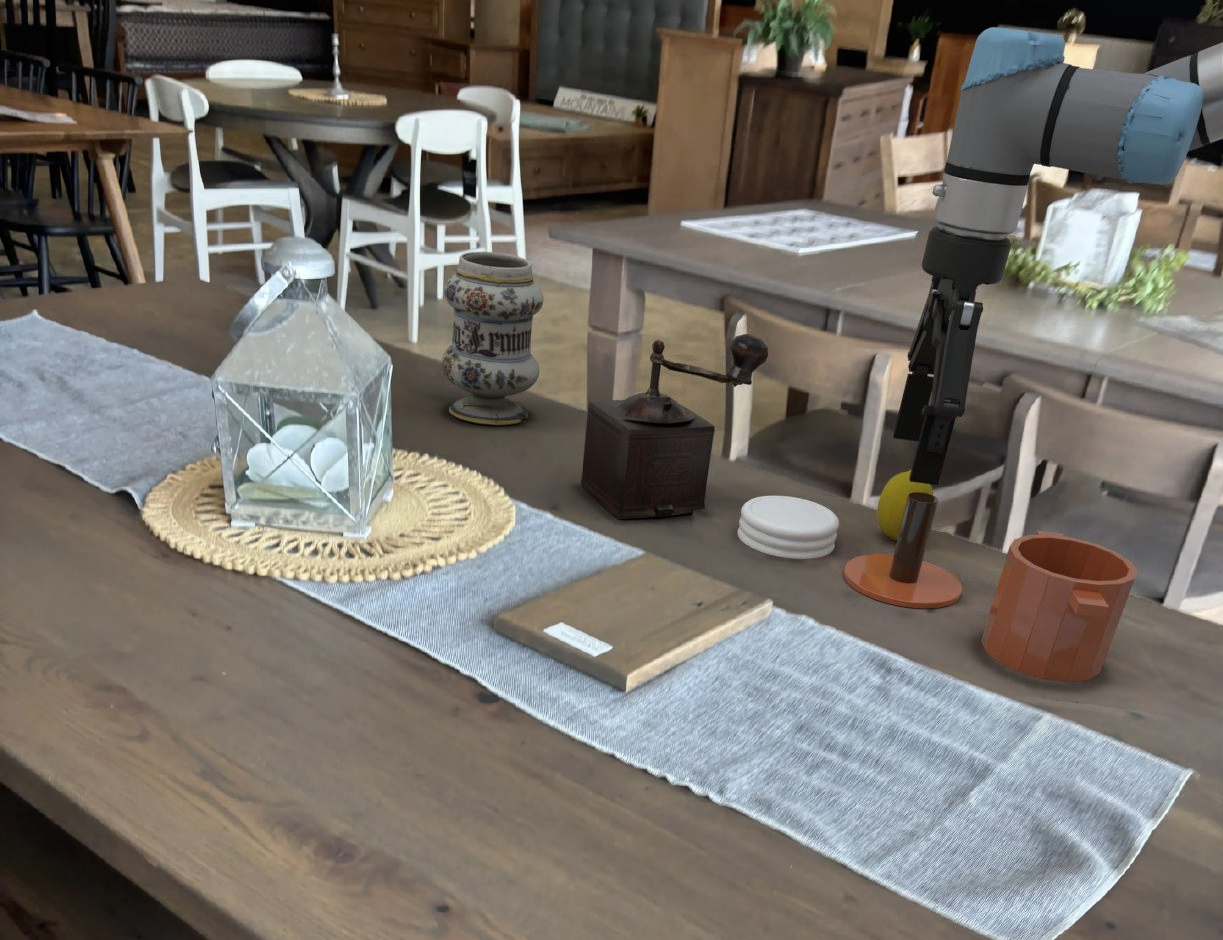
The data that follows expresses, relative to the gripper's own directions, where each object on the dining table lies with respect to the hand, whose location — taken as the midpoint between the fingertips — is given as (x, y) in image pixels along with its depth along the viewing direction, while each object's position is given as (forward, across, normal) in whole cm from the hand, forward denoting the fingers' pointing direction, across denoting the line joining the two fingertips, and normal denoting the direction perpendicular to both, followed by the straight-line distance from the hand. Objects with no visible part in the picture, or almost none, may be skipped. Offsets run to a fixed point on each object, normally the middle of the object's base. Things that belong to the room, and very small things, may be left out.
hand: (914, 460), depth 121 cm
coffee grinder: (+9, -5, -25) cm, 27 cm away
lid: (+8, +12, -1) cm, 15 cm away
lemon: (+9, 0, 0) cm, 9 cm away
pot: (+9, +24, +10) cm, 28 cm away
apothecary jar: (+10, -28, -48) cm, 56 cm away
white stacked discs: (+9, +4, -12) cm, 15 cm away
